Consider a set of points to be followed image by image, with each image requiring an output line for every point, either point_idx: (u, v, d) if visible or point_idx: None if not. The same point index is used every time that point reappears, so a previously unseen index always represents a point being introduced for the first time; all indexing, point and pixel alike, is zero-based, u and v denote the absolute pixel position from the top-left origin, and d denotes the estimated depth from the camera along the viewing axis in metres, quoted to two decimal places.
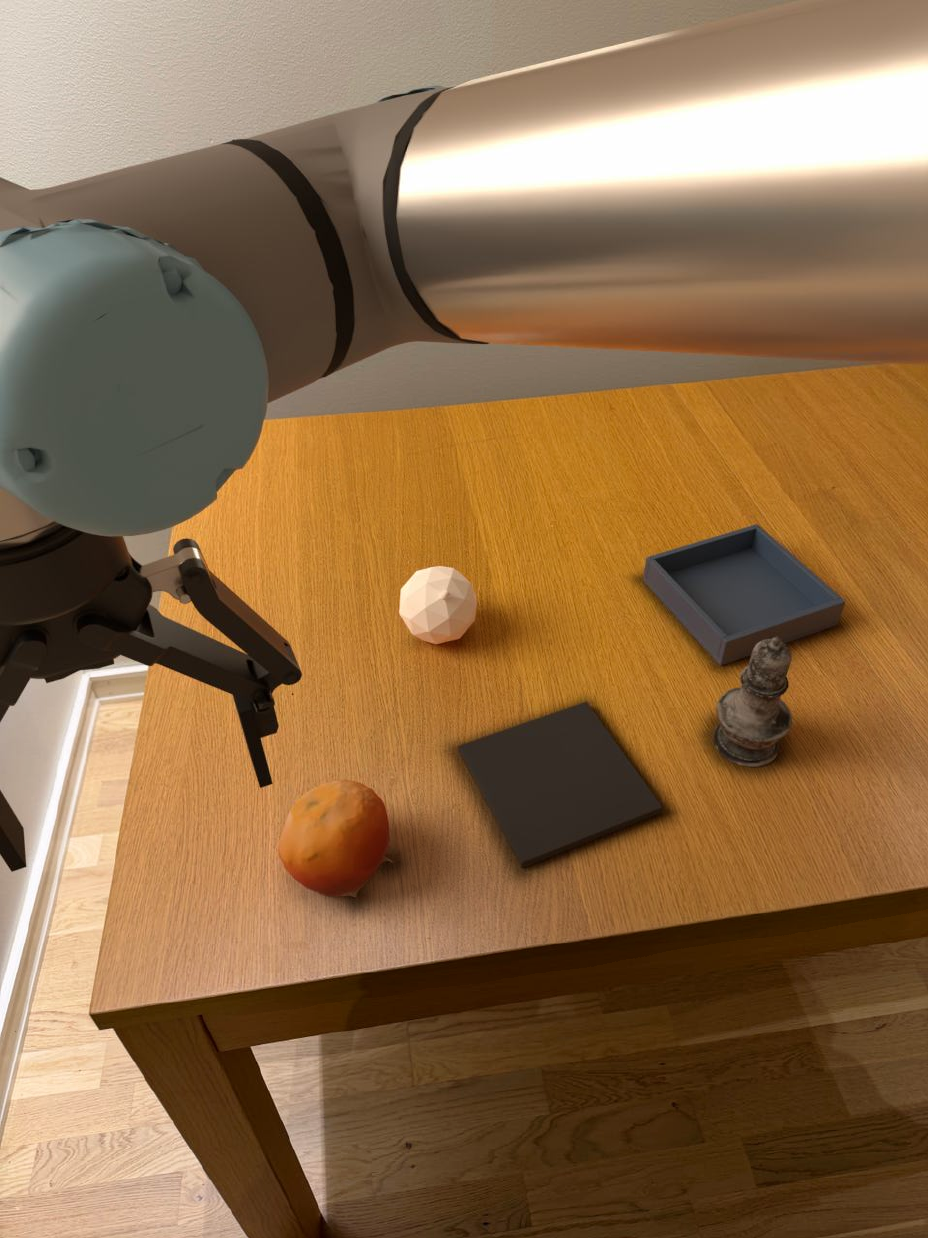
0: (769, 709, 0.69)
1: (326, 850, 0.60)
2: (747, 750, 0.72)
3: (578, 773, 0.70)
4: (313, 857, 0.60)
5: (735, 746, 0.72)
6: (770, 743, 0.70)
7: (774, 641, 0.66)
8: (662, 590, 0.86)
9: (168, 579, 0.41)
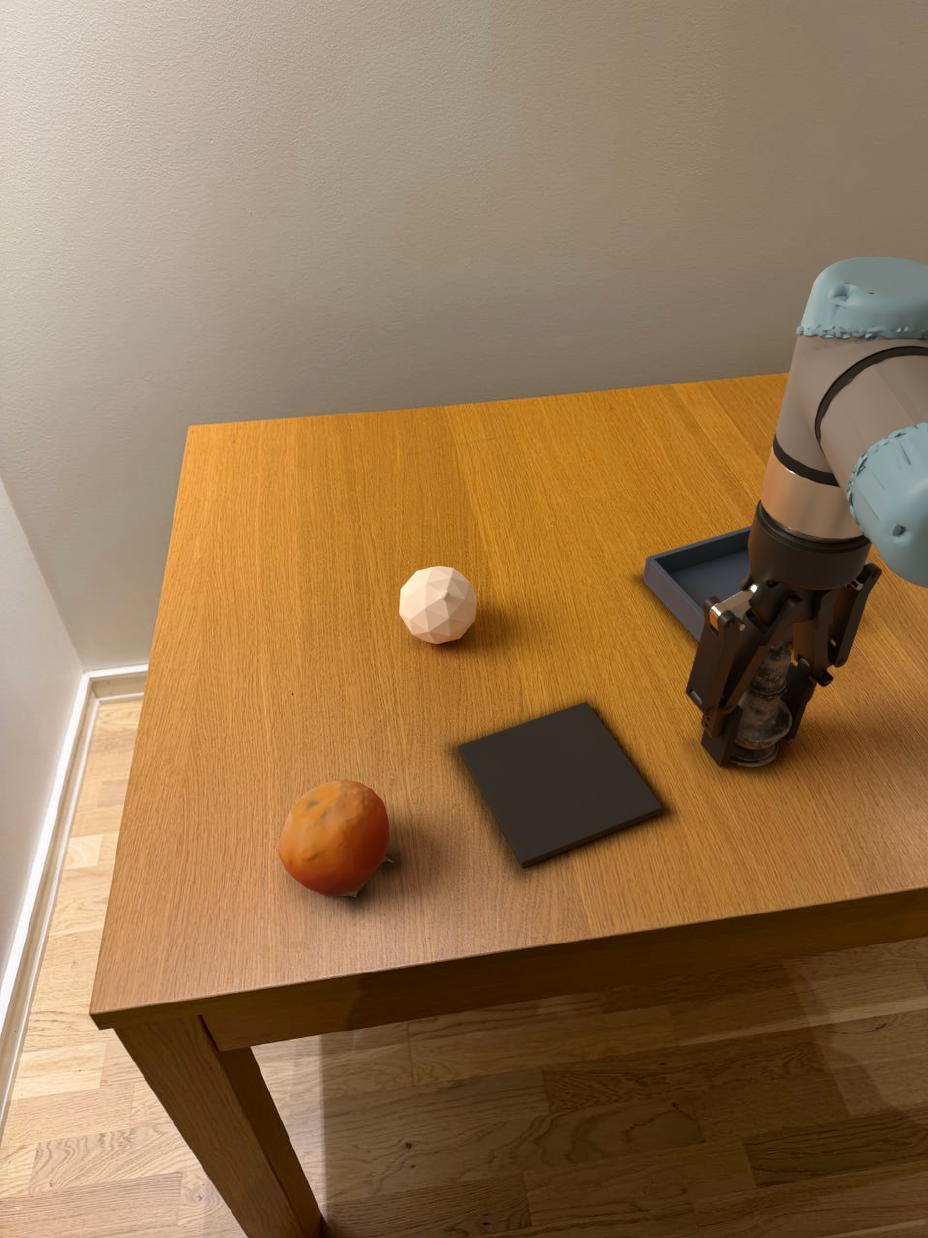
0: (768, 710, 0.69)
1: (326, 850, 0.60)
2: (746, 750, 0.72)
3: (578, 773, 0.70)
4: (313, 857, 0.60)
5: (735, 746, 0.72)
6: (770, 743, 0.70)
7: None
8: (662, 590, 0.86)
9: None
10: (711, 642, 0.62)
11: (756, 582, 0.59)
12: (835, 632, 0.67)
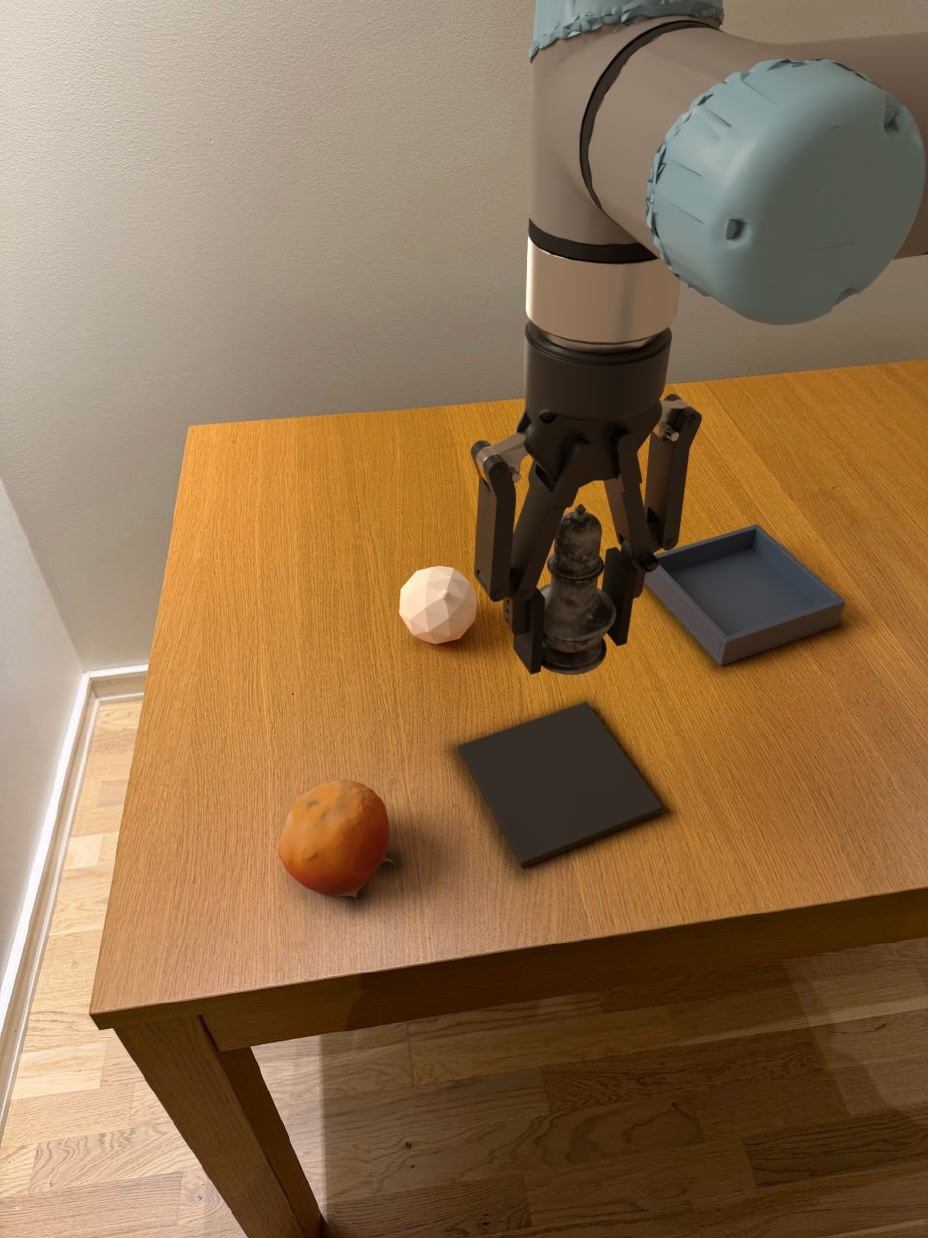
0: (582, 600, 0.57)
1: (326, 850, 0.60)
2: (566, 656, 0.60)
3: (578, 773, 0.70)
4: (313, 857, 0.60)
5: (553, 651, 0.60)
6: (586, 643, 0.58)
7: (577, 510, 0.53)
8: (662, 590, 0.86)
9: (668, 416, 0.51)
10: (486, 502, 0.50)
11: (530, 419, 0.47)
12: (658, 503, 0.55)
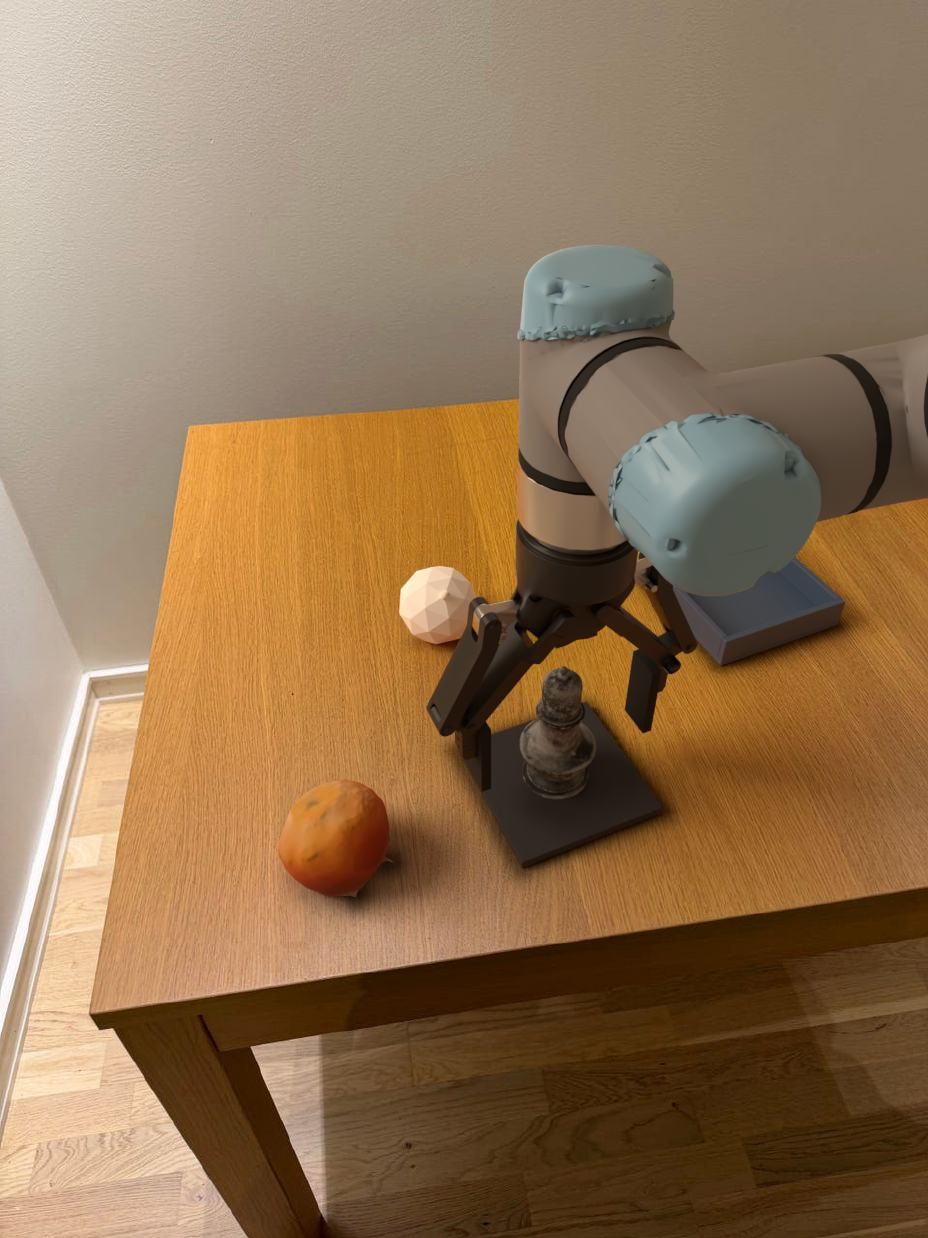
0: (566, 741, 0.66)
1: (326, 850, 0.60)
2: (553, 782, 0.69)
3: None
4: (313, 857, 0.60)
5: (542, 778, 0.70)
6: (570, 775, 0.67)
7: (561, 671, 0.63)
8: None
9: (643, 575, 0.58)
10: (467, 648, 0.57)
11: (522, 597, 0.56)
12: (667, 624, 0.63)
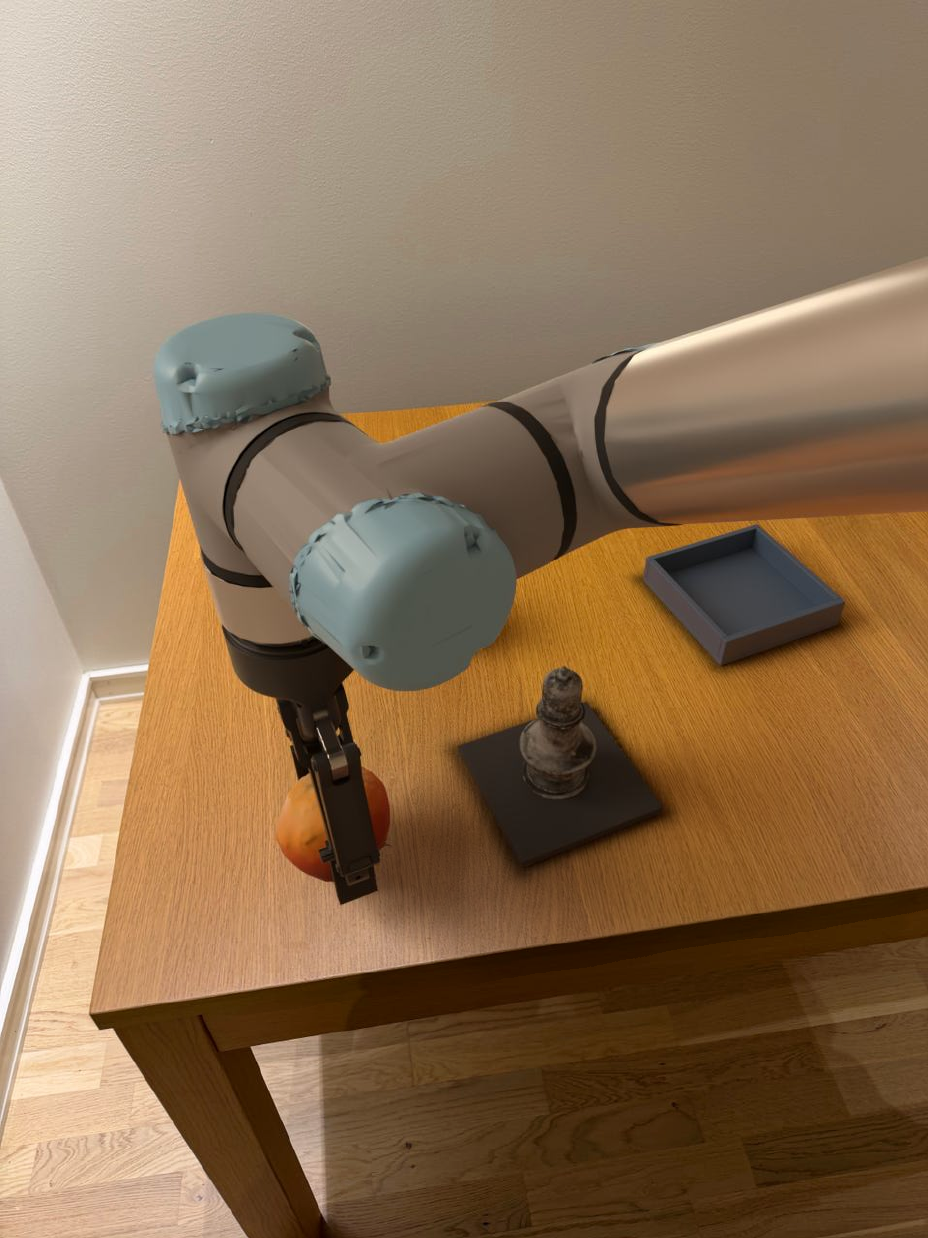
0: (566, 741, 0.66)
1: (325, 833, 0.58)
2: (553, 782, 0.69)
3: None
4: (311, 840, 0.58)
5: (542, 778, 0.70)
6: (570, 775, 0.67)
7: (561, 671, 0.63)
8: (662, 590, 0.86)
9: (322, 745, 0.49)
10: None
11: None
12: None
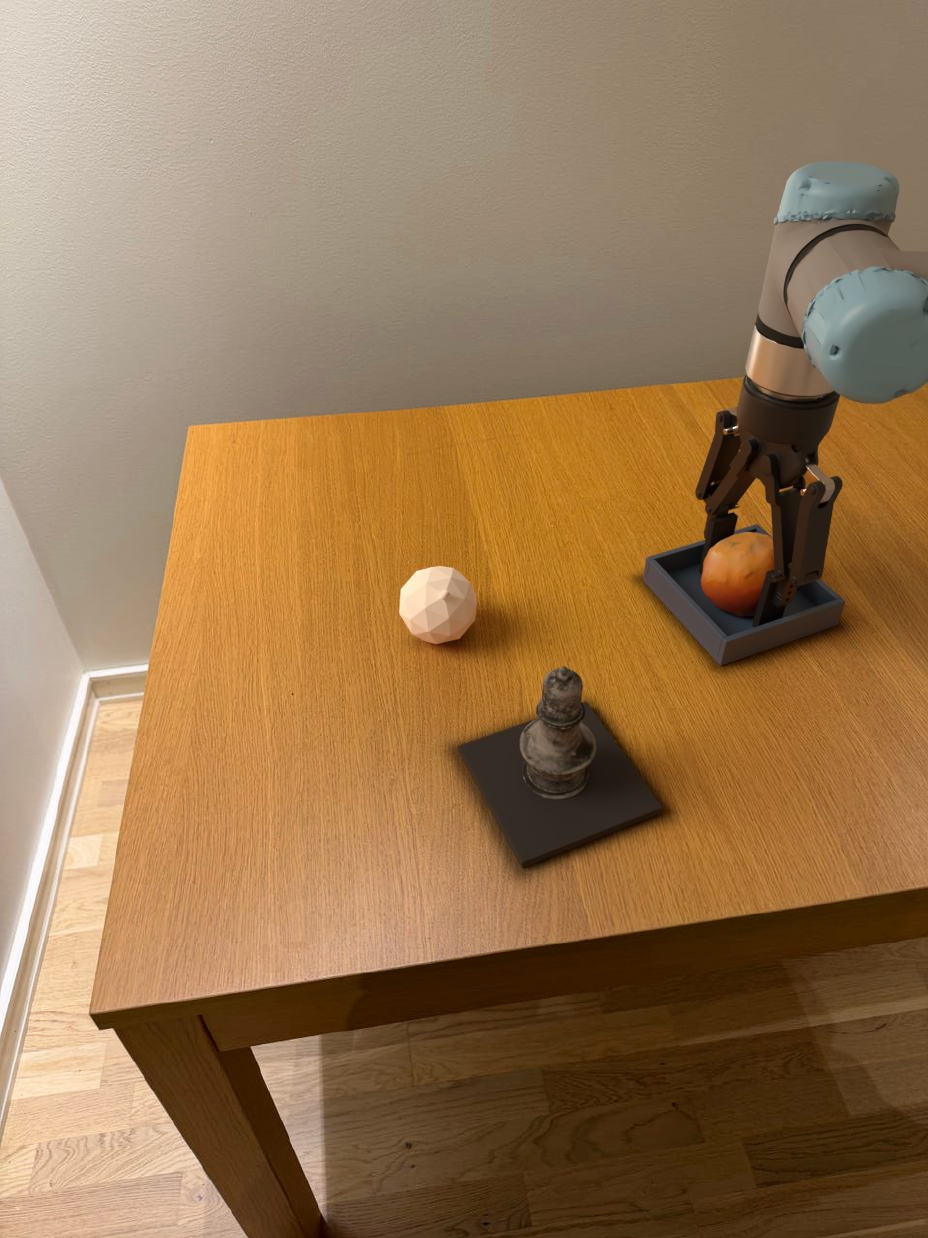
0: (566, 741, 0.66)
1: (759, 569, 0.80)
2: (553, 782, 0.69)
3: None
4: (749, 575, 0.80)
5: (542, 778, 0.70)
6: (570, 775, 0.67)
7: (561, 671, 0.63)
8: (662, 590, 0.86)
9: (810, 479, 0.71)
10: None
11: None
12: None
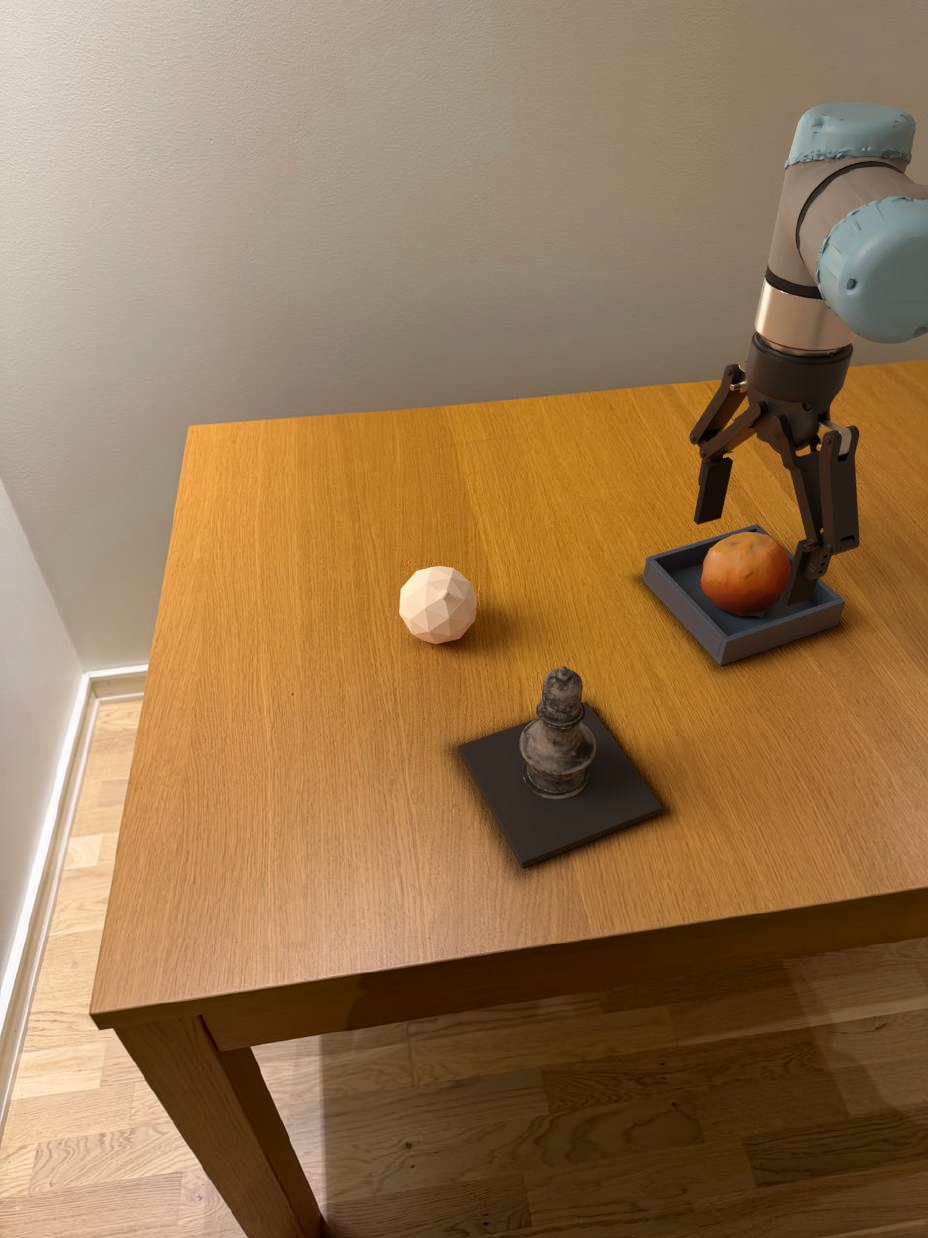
0: (566, 741, 0.66)
1: (759, 569, 0.80)
2: (553, 782, 0.69)
3: None
4: (749, 574, 0.80)
5: (542, 778, 0.70)
6: (570, 775, 0.67)
7: (561, 671, 0.63)
8: (662, 590, 0.86)
9: (825, 433, 0.68)
10: None
11: None
12: None
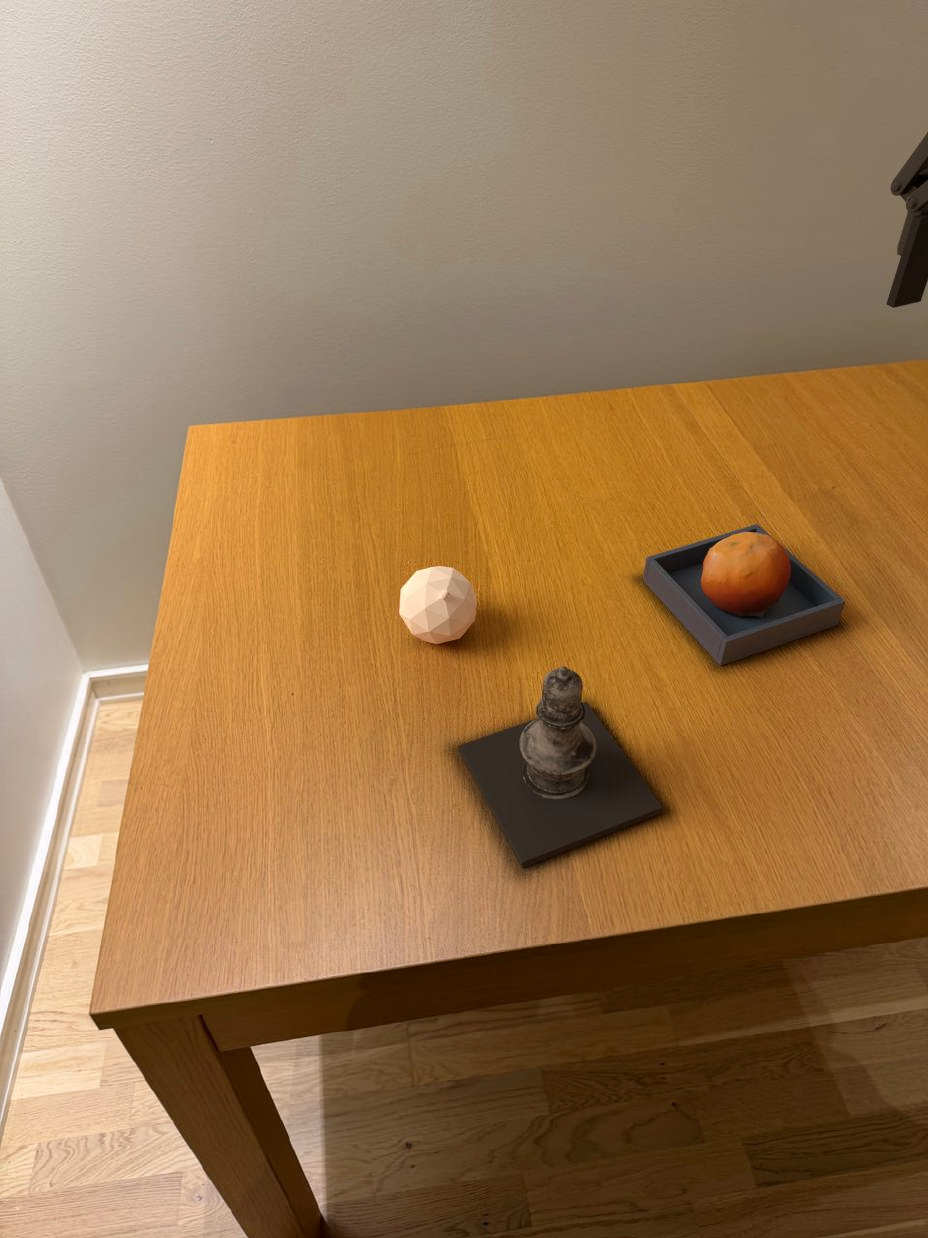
0: (566, 741, 0.66)
1: (759, 569, 0.80)
2: (553, 782, 0.69)
3: None
4: (749, 574, 0.80)
5: (542, 778, 0.70)
6: (570, 775, 0.67)
7: (561, 671, 0.63)
8: (662, 590, 0.86)
9: None
10: None
11: None
12: None
